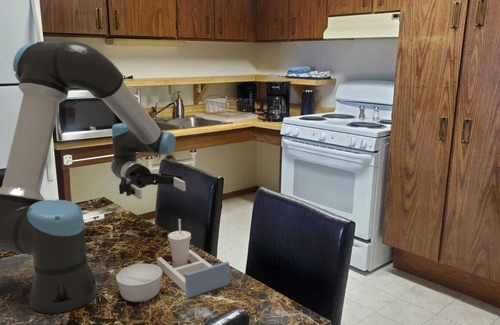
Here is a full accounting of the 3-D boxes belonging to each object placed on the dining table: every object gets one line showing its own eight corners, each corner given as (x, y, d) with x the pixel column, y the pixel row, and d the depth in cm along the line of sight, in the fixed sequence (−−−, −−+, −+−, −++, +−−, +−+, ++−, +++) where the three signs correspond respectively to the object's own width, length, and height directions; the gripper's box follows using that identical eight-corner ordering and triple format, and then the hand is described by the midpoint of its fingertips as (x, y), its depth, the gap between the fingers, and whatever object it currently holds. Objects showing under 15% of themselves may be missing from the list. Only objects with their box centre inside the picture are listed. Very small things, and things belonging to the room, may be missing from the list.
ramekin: (116, 308, 101) (115, 287, 100) (117, 285, 112) (115, 266, 110) (165, 301, 104) (164, 281, 103) (161, 279, 115) (160, 261, 114)
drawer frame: (187, 298, 105) (187, 275, 104) (154, 267, 121) (153, 247, 120) (229, 284, 112) (229, 262, 111) (192, 256, 128) (192, 237, 127)
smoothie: (194, 262, 124) (193, 216, 121) (189, 273, 118) (187, 224, 115) (172, 261, 125) (170, 215, 122) (166, 271, 119) (164, 223, 116)
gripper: (171, 180, 149) (201, 195, 133) (98, 192, 135) (121, 211, 119) (170, 158, 148) (200, 171, 131) (96, 169, 134) (119, 184, 117)
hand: (163, 190), depth 125 cm, fingers open, 13 cm apart
